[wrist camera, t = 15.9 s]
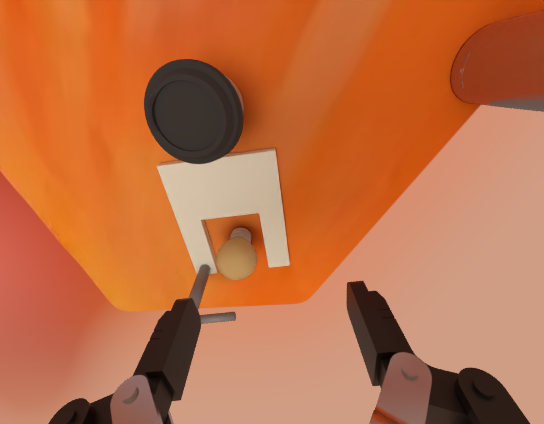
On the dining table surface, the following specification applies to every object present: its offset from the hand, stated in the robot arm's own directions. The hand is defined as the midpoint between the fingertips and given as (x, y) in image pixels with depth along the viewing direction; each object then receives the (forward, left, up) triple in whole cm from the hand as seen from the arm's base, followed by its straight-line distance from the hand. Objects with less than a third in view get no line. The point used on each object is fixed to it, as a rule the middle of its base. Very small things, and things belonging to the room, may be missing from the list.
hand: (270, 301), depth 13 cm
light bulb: (+7, +14, -28) cm, 32 cm away
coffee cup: (+6, -8, -28) cm, 30 cm away
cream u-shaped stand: (+8, +10, -28) cm, 31 cm away
